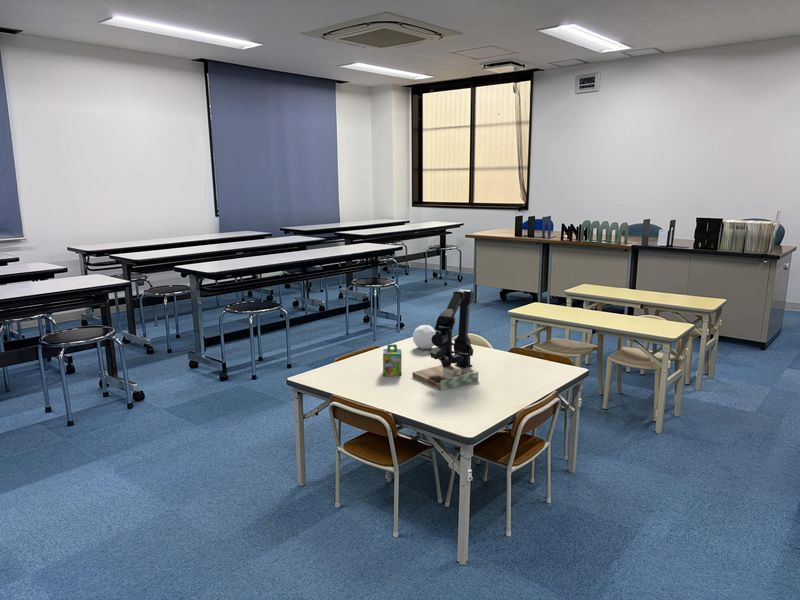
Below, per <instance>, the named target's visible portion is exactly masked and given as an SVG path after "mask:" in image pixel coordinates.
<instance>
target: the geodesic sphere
mask: <svg viewBox="0 0 800 600" xmlns="http://www.w3.org/2000/svg"><path fill="white" fill-rule="evenodd" d="M436 331H437V330H435V328H434V327H433V326H431V324H429V325H428V324H423V325H419V326H417V327H416V328H415V329H414V331H413V333H412V340H413V343H414V344H415V346H416V347H417V348H419V349H421V350H428V349H429V350H430V349H431V348H432V347H433V348H434V346H435V345H434V344H433V343H432V340H431V339H432V336H433V335H435V332H436Z"/></svg>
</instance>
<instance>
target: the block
mask: <svg viewBox="0 0 800 600" xmlns="http://www.w3.org/2000/svg"><path fill="white" fill-rule="evenodd" d="M461 369H462V368H461V367H458V366H456V365H452V366H449V367H445V368H443V377H445V378H447V379H450V378H453V377H457V376H461Z"/></svg>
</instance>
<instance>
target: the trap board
mask: <svg viewBox="0 0 800 600" xmlns="http://www.w3.org/2000/svg"><path fill="white" fill-rule="evenodd" d="M450 366H453V364H451V365H450ZM412 378H414V379H416V380H418V381H419V382H422V383H424V384H426V385H429V386H431V387H433V388H435V389H436V390H437V389H438V390H439V391H442V392H443V391H446V390H450V389H454V388H457V387H460V386H464V385H468V383H469V384H472V383H475V381H476V382H478V381H479V371H477V370H476V371H473V372H470V371H468V370H464V369H463V368H461V376H457V377H453V378H450V379H447V378H445V377H443V366H442V364H441V365H437V366H434V367H430V368H424V369H419V370H417V371H412Z"/></svg>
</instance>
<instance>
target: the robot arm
mask: <svg viewBox="0 0 800 600" xmlns="http://www.w3.org/2000/svg"><path fill="white" fill-rule="evenodd" d="M474 299H475V292H473V290H472V289H463V288H462V289H461V288H459V290H453V293H452V297H451V299H450V300H449V303H448V304H447V307H446V309H444V310H443V311H441V313H440V314H439V316H438V317H437V320H436V323H435V327H434V330H435V331H436V332H435V335H433V336H432V339H431V340H432V343H433V344H434V346H435V347H433V348H432V347H431V348H429V355H430V358H431V359H434V360H439V361H440V363H441V365H442V366H443V368H445V367H449V366H450V365H454V366H456V367H458V368H461V369H466V368H470V367H473V364H471V357H472V356H474V348H473V346H472V345H471V344H472V342H471V339H470V337H469V321H470V320H469V319H470V307H471V306H472V304H473V302H474ZM458 309H459V316H458V317H459V318H458V333H457V334H458V335H457V336H456V338H454V342H453V331H454V327H455V323H456V317H455V315H456V313H457V312H458Z"/></svg>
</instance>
